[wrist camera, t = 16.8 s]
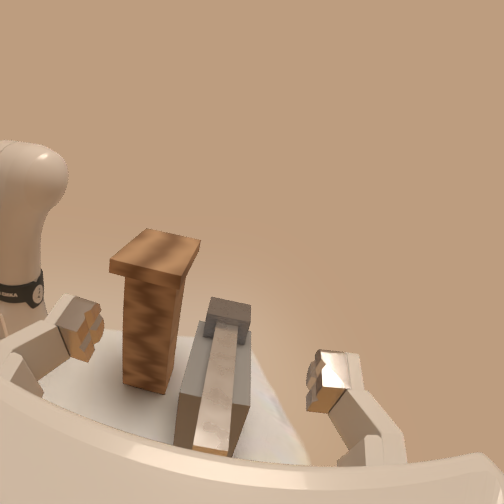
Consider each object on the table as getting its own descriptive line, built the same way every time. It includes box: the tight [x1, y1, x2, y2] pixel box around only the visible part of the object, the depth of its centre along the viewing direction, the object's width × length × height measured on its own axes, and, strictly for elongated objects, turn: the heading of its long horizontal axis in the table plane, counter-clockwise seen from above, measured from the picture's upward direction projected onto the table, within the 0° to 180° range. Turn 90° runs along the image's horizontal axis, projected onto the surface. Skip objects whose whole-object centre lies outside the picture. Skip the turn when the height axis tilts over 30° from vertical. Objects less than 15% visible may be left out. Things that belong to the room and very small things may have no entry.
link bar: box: [192, 297, 251, 457], centre depth 35 cm, size 6×26×4 cm, turn 0°
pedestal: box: [173, 321, 251, 458], centre depth 42 cm, size 8×16×17 cm, turn 1°
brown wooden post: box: [109, 229, 201, 395], centre depth 51 cm, size 10×16×26 cm, turn 1°
